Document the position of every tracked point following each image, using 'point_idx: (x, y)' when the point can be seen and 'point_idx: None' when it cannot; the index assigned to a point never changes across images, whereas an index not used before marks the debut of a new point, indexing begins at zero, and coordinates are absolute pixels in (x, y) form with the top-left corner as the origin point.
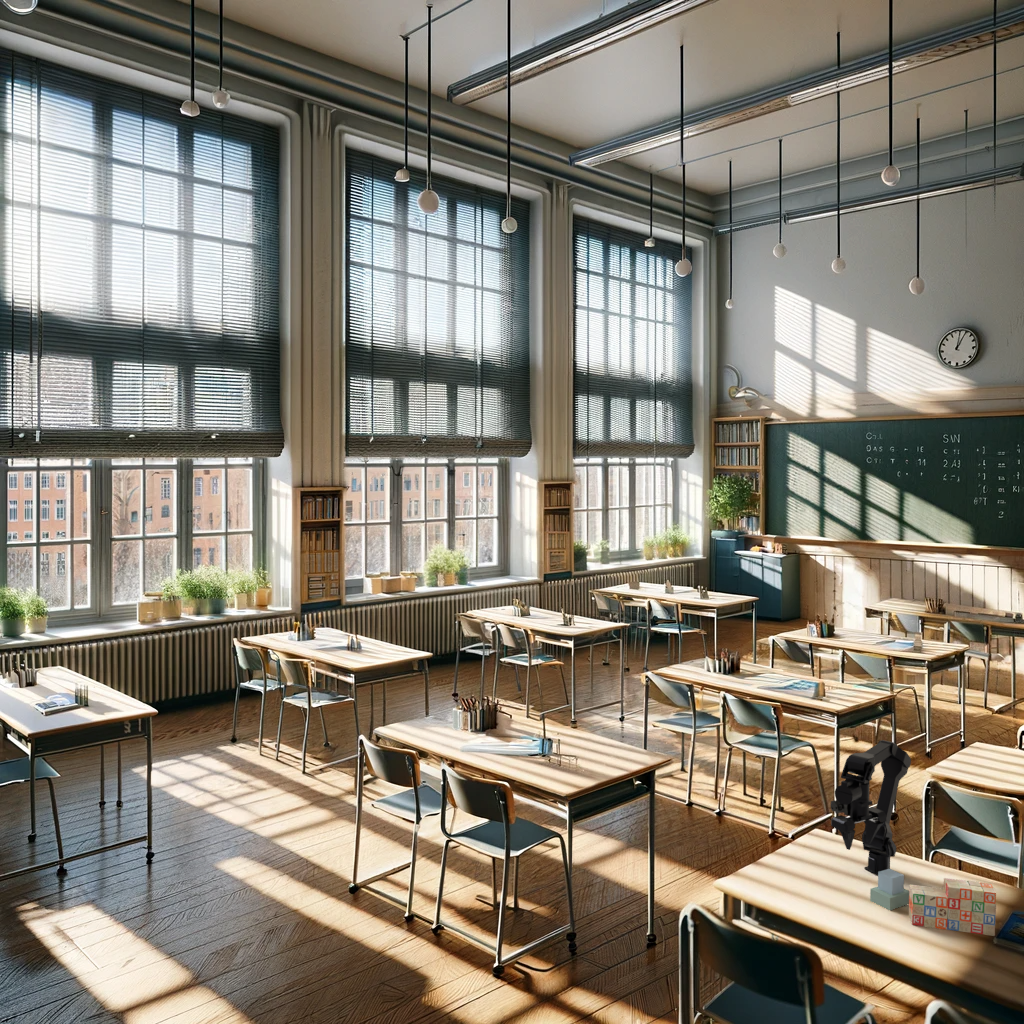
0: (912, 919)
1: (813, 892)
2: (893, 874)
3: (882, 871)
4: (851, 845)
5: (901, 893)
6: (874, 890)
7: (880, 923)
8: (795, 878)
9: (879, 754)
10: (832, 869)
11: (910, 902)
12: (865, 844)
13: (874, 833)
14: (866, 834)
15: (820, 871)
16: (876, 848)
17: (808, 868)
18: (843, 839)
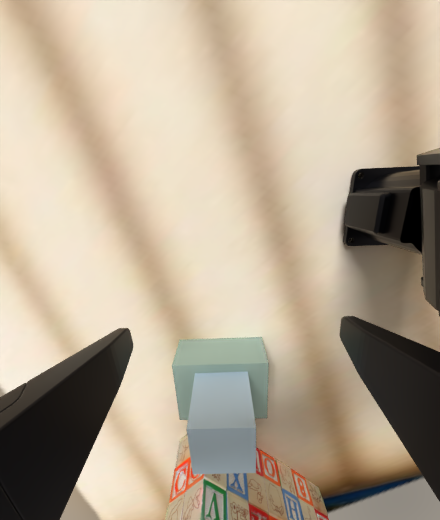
0: (177, 455)
1: (53, 238)
2: (223, 459)
3: (205, 432)
4: (118, 388)
5: None
6: (175, 377)
7: (119, 415)
8: (49, 118)
9: None
10: (242, 114)
11: (187, 478)
12: (421, 194)
13: (423, 466)
14: (394, 355)
15: (184, 108)
16: (423, 258)
17: (157, 55)
18: (39, 378)
